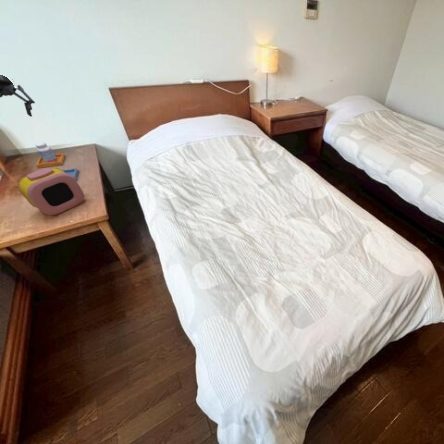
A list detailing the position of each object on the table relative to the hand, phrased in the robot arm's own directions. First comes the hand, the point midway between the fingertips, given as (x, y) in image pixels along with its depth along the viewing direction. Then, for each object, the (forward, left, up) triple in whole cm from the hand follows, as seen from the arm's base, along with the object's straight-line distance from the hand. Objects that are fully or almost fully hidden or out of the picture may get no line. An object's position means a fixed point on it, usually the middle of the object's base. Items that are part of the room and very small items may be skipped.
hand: (13, 116), depth 133 cm
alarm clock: (+17, -53, -27) cm, 62 cm away
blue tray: (+14, -25, -27) cm, 39 cm away
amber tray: (+5, -3, -27) cm, 27 cm away
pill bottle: (+5, -3, -26) cm, 27 cm away
